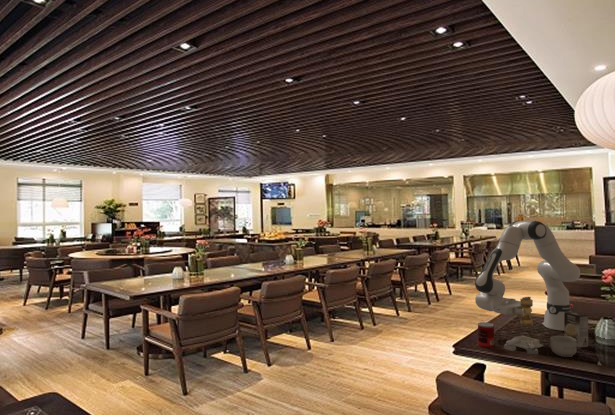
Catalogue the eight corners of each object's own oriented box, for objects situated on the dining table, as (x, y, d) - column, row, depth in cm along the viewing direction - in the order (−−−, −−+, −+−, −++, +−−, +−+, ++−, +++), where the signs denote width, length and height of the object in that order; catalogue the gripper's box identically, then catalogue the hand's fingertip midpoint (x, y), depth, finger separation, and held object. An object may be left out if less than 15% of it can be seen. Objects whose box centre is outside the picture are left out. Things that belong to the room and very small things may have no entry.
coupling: (524, 323, 222) (524, 295, 222) (534, 325, 217) (534, 297, 217) (517, 324, 219) (518, 296, 219) (528, 327, 214) (528, 298, 214)
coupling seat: (521, 340, 226) (521, 331, 226) (543, 346, 216) (543, 337, 216) (497, 346, 216) (497, 337, 216) (519, 353, 206) (519, 344, 206)
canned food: (493, 344, 220) (493, 322, 220) (494, 348, 213) (494, 326, 213) (477, 342, 223) (477, 321, 223) (478, 347, 215) (478, 325, 215)
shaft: (523, 348, 213) (523, 339, 213) (533, 348, 212) (533, 339, 212) (528, 353, 205) (528, 344, 205) (538, 354, 204) (538, 345, 204)
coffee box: (563, 342, 222) (563, 311, 222) (573, 341, 224) (572, 310, 224) (579, 347, 213) (579, 315, 214) (589, 346, 215) (588, 314, 215)
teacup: (566, 360, 196) (566, 342, 196) (545, 353, 206) (544, 336, 206) (586, 356, 202) (586, 339, 202) (564, 349, 211) (564, 333, 212)
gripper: (491, 302, 224) (515, 307, 212) (514, 298, 235) (539, 303, 223) (491, 314, 224) (515, 319, 212) (514, 309, 235) (539, 315, 223)
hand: (528, 311), depth 217 cm, fingers closed on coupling, 4 cm apart
